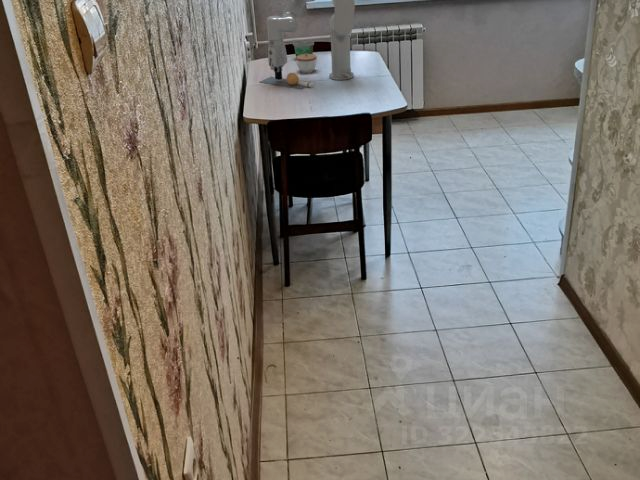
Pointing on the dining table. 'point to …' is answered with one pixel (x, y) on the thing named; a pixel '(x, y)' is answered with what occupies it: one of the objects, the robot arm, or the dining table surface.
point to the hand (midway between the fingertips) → (278, 78)
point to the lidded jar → (306, 62)
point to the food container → (303, 47)
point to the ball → (292, 79)
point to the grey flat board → (280, 83)
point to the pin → (305, 84)
